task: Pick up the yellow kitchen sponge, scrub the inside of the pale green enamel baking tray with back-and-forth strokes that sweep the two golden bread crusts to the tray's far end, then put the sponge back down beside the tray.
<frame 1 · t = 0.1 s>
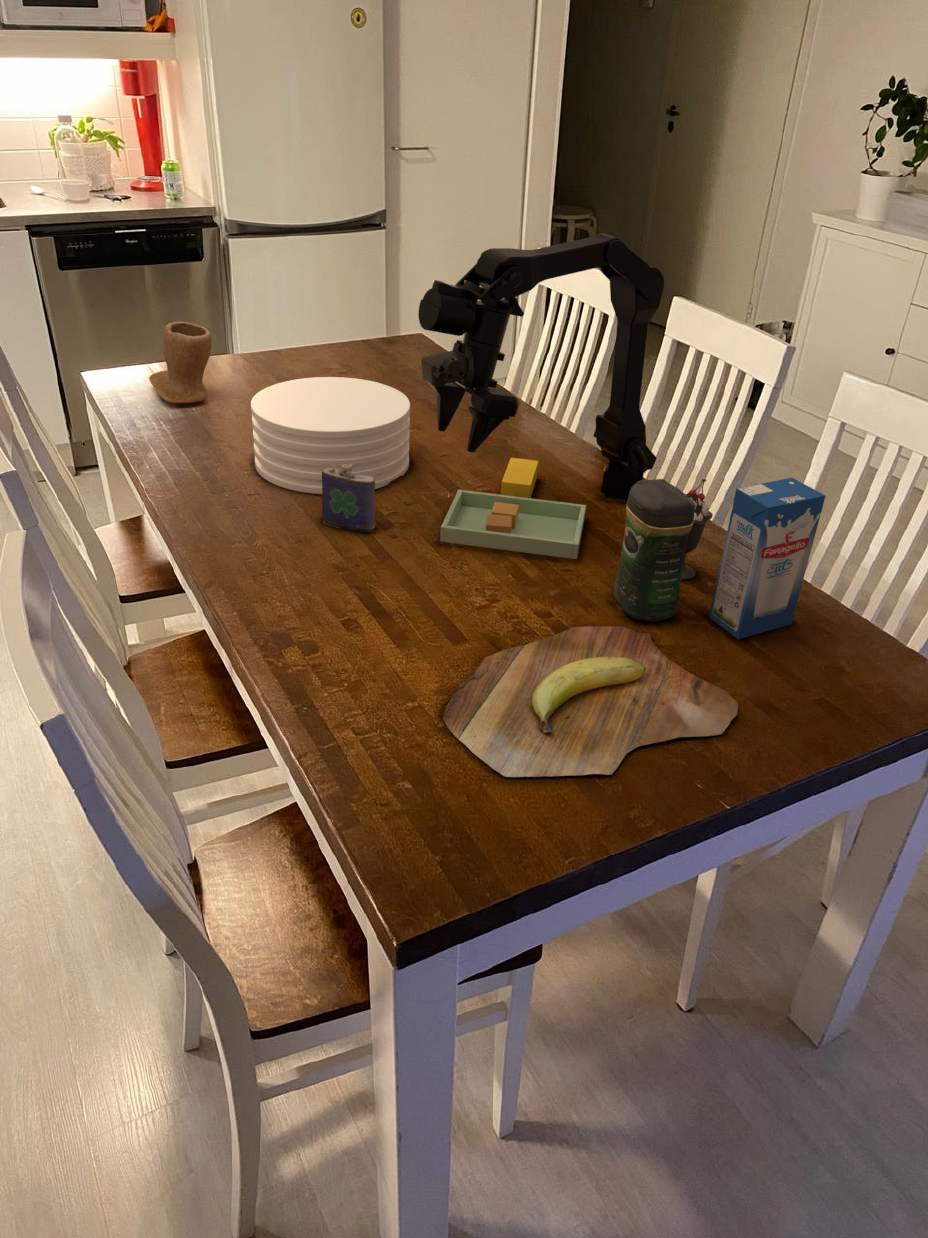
hand: (455, 441, 150), 15 cm above the table, tool pointing down, fingers open, 9 cm apart
crust a: (504, 522, 160), point 1 cm above the table, touching tray
milk carton: (749, 622, 138), on the table
plate stack: (332, 463, 179), on the table
crust b: (498, 534, 156), point 1 cm above the table, touching tray
brown boot: (185, 396, 205), on the table
tray: (514, 532, 158), on the table
flask: (348, 526, 158), on the table
coffee jar: (643, 607, 140), on the table
sponge: (518, 491, 172), on the table
cutting board: (581, 702, 120), on the table
sundae: (678, 572, 150), on the table
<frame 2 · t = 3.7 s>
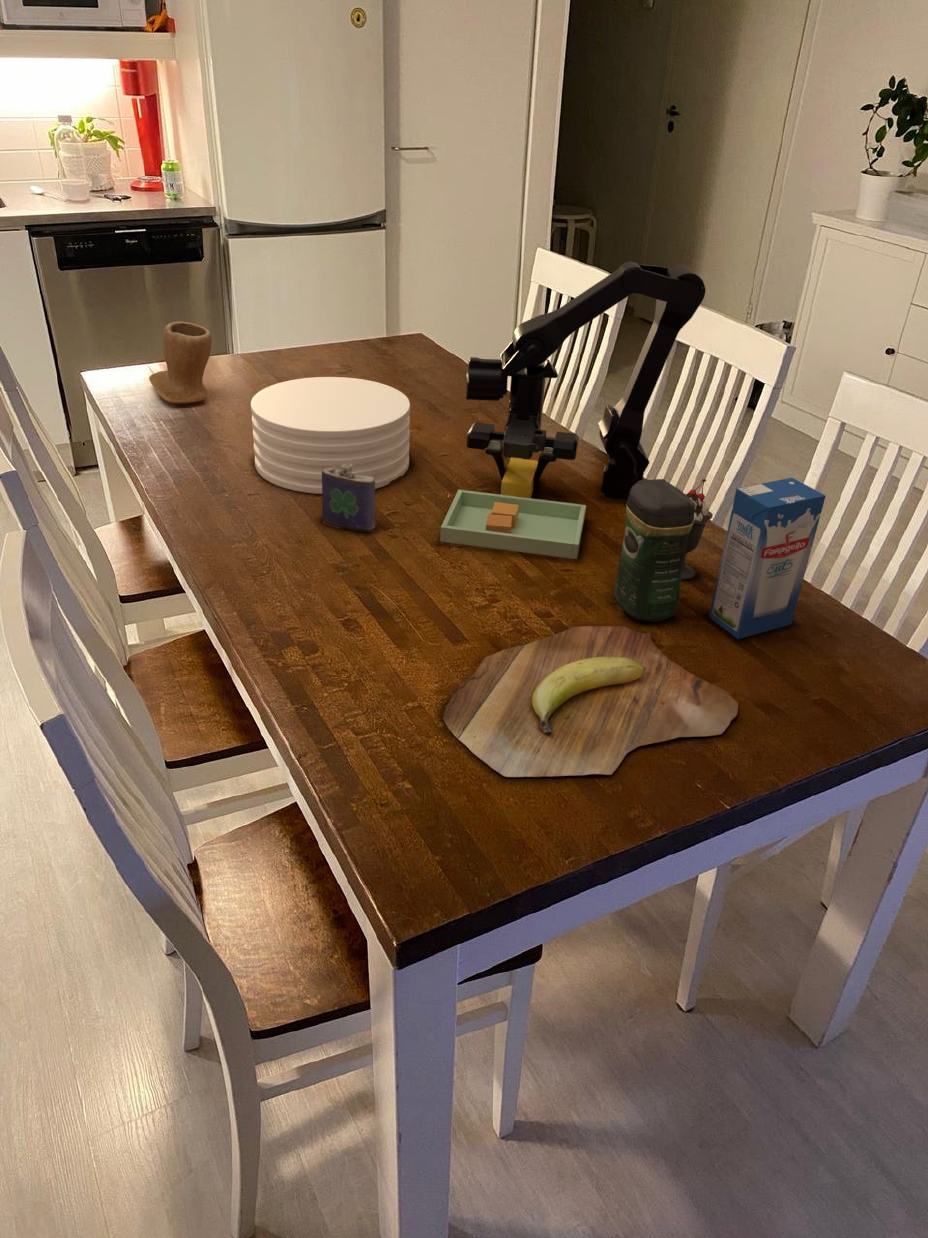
hand: (519, 486, 171), 1 cm above the table, tool pointing down, fingers closed on sponge, 5 cm apart
sponge: (518, 491, 172), on the table, touching gripper
everything else where it was.
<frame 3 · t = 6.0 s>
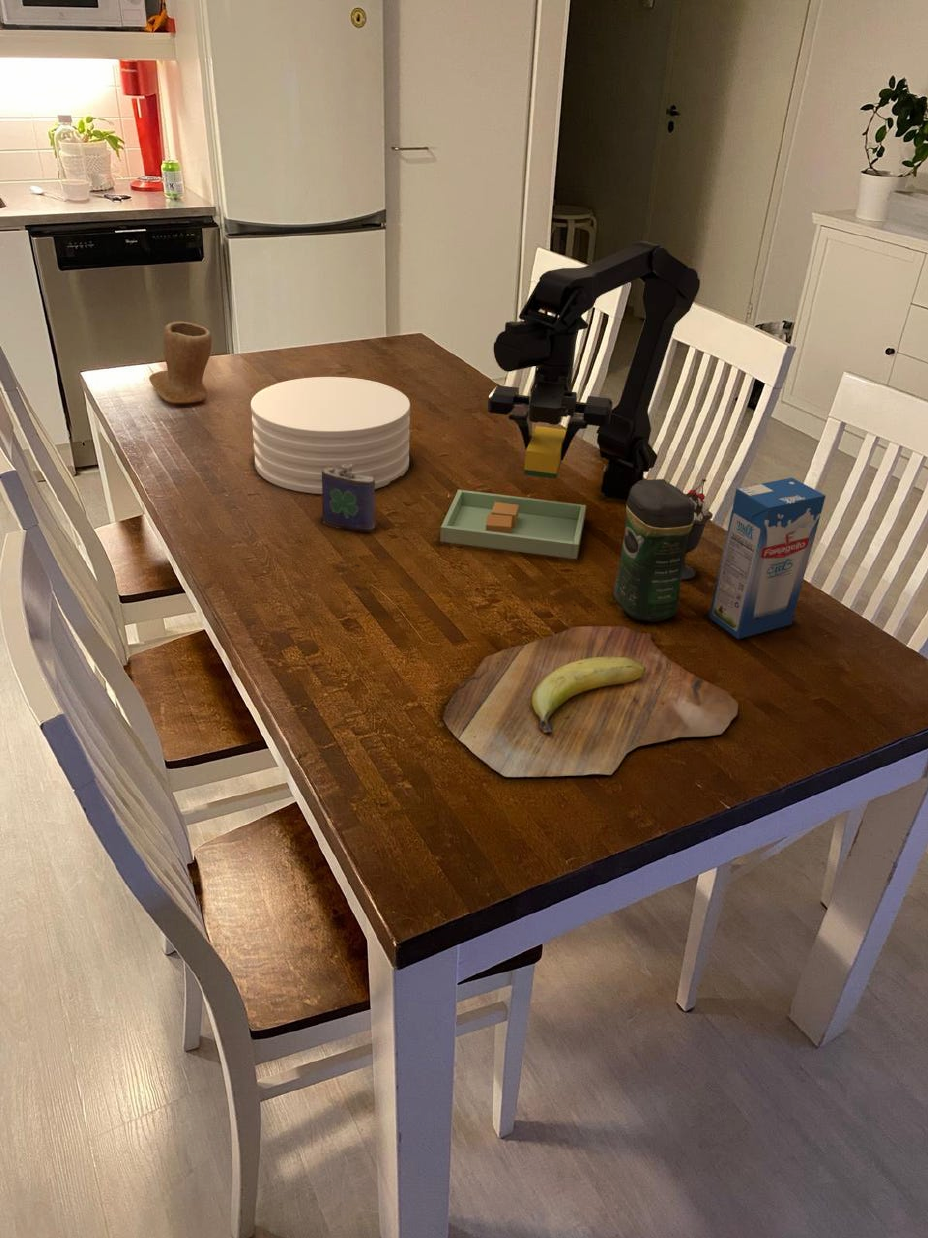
hand: (545, 457, 155), 12 cm above the table, tool pointing down, fingers closed on sponge, 5 cm apart
sponge: (544, 463, 155), point 11 cm above the table, touching gripper
everything else where it was.
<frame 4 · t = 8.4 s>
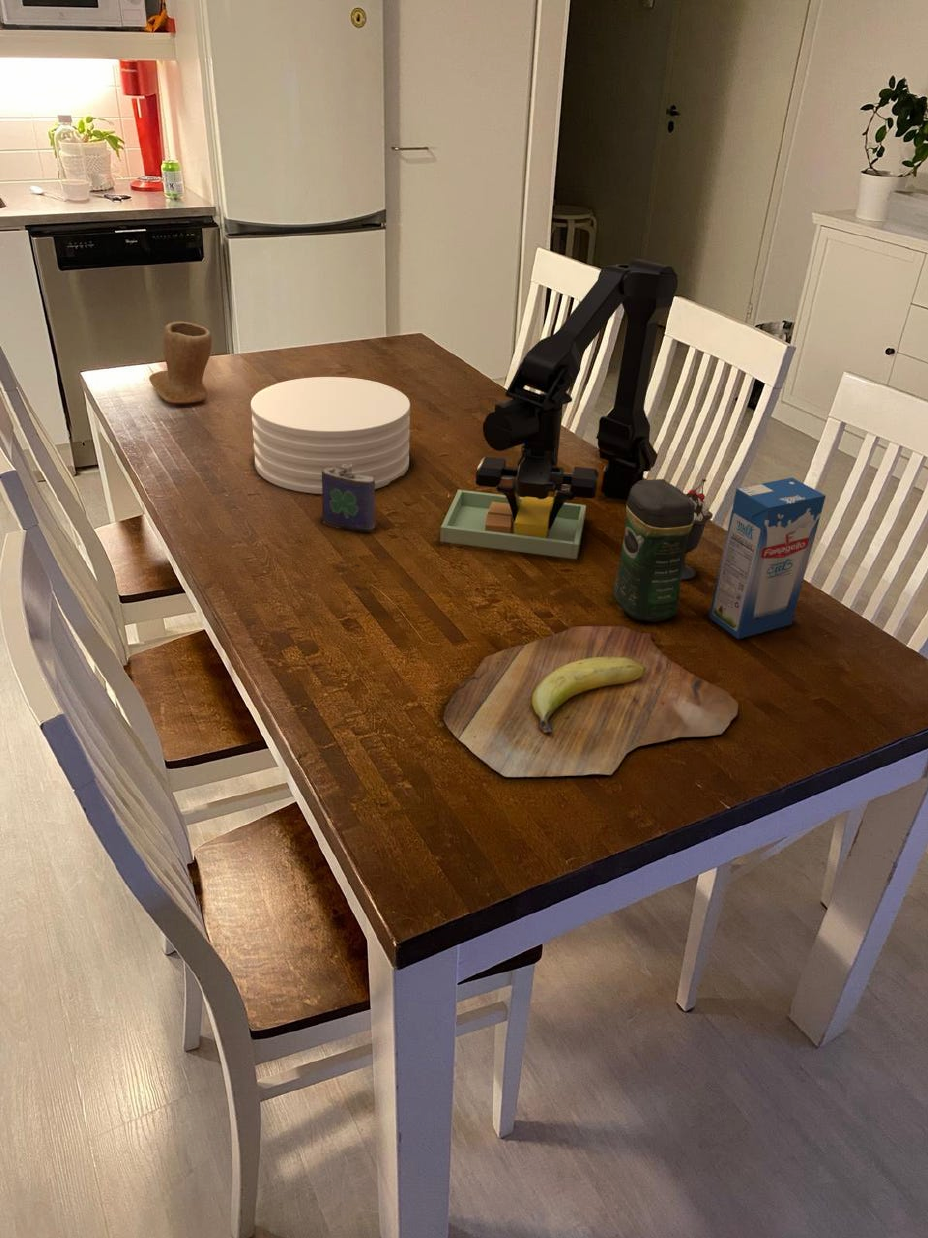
hand: (533, 526, 157), 2 cm above the table, tool pointing down, fingers closed on sponge, 5 cm apart
crust a: (501, 521, 160), point 1 cm above the table, touching gripper, tray
crust b: (497, 534, 156), point 1 cm above the table, touching gripper, tray
sponge: (532, 531, 157), point 1 cm above the table, touching gripper, tray
everything else where it was.
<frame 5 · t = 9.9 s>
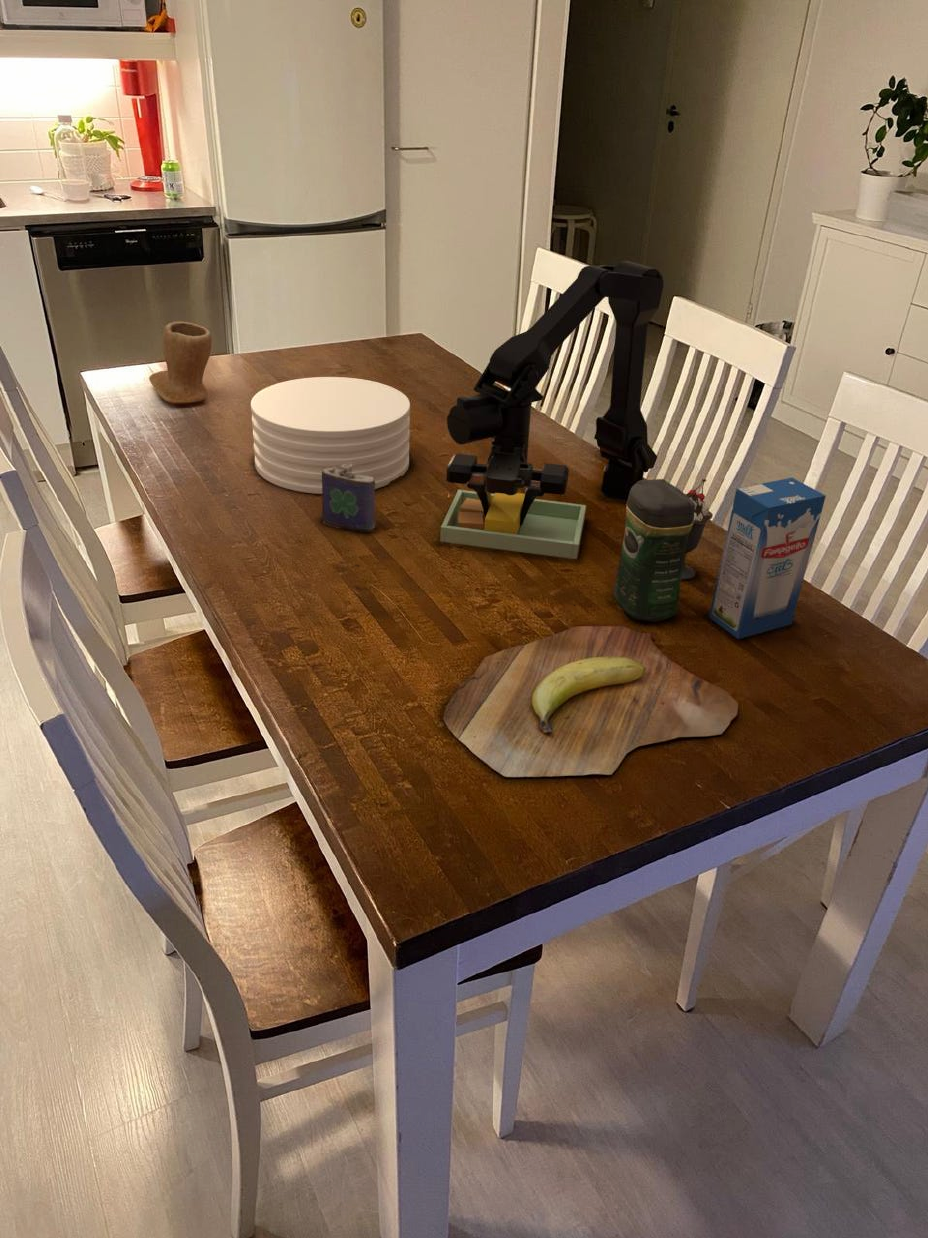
hand: (504, 522, 158), 2 cm above the table, tool pointing down, fingers closed on sponge, 5 cm apart
crust a: (474, 518, 161), point 1 cm above the table, touching gripper, tray
crust b: (470, 531, 157), point 1 cm above the table, touching gripper, tray
sponge: (504, 528, 158), point 1 cm above the table, touching gripper, tray
everything else where it was.
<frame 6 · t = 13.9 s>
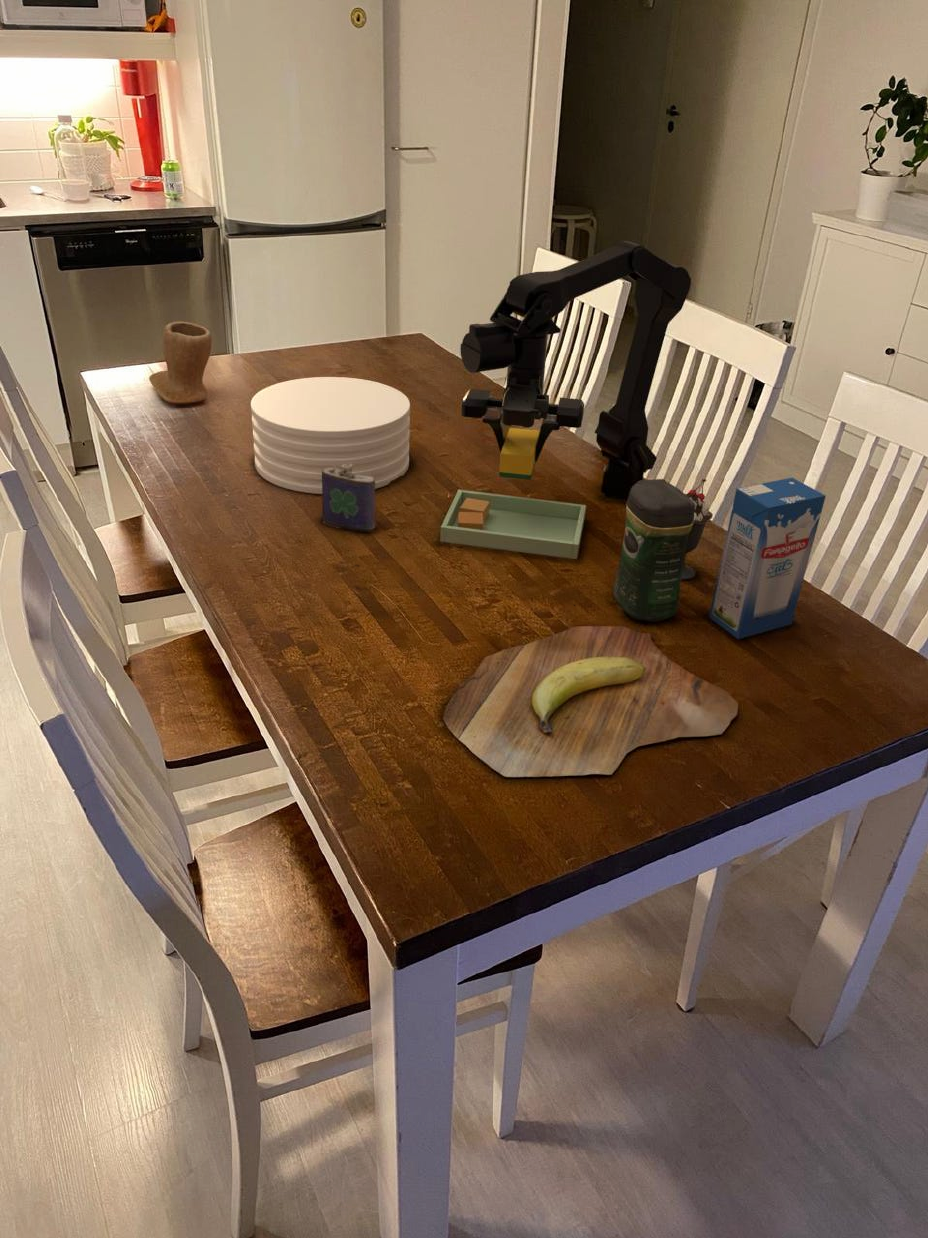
hand: (519, 459, 157), 11 cm above the table, tool pointing down, fingers closed on sponge, 5 cm apart
crust a: (474, 518, 161), point 1 cm above the table, touching tray
crust b: (470, 531, 157), point 1 cm above the table, touching tray
sponge: (519, 464, 157), point 10 cm above the table, touching gripper
everything else where it was.
when the fingers open (1 cm above the table, at t = 17.5 s): sponge stays where it is, on the table.
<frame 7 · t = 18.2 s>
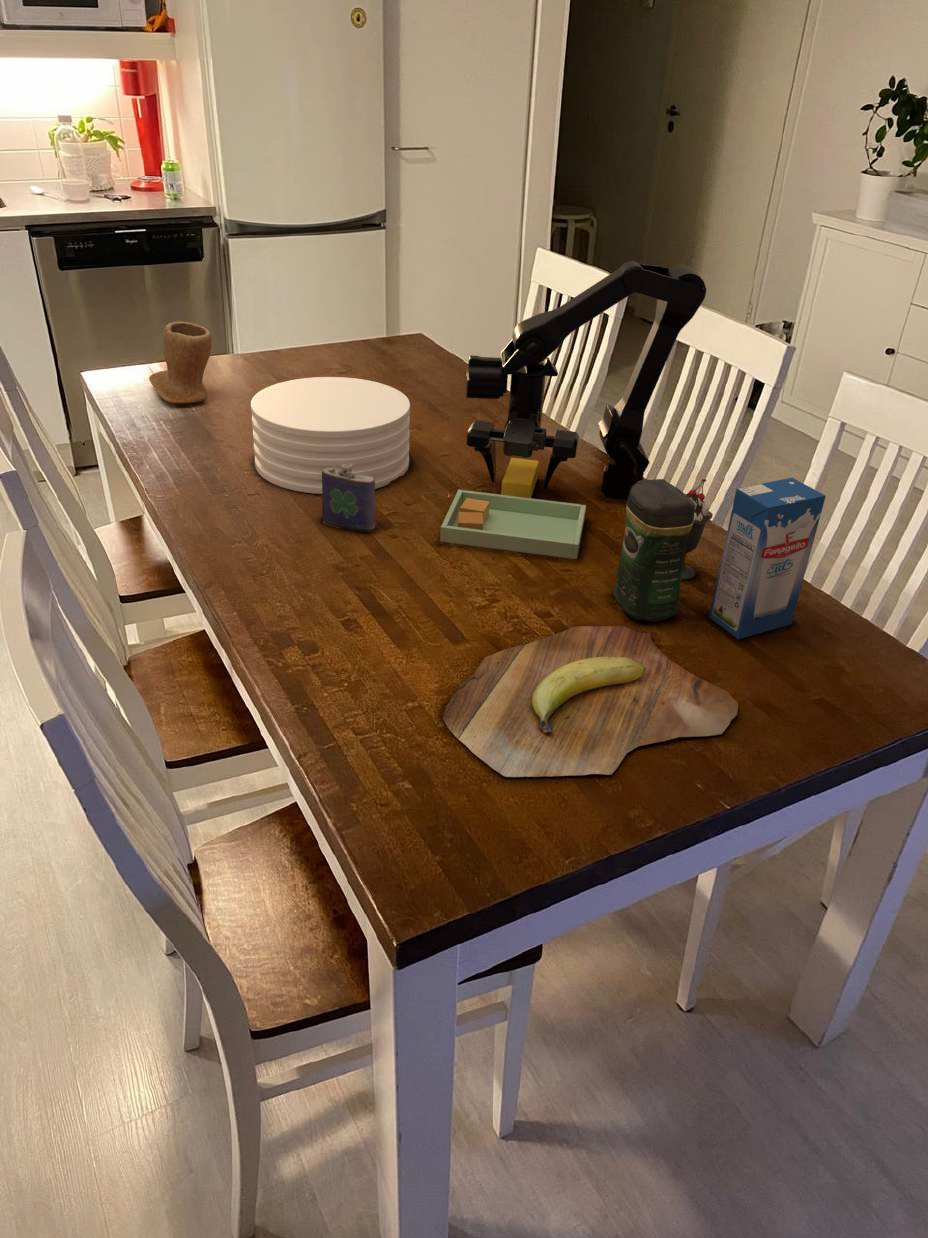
hand: (519, 485, 171), 1 cm above the table, tool pointing down, fingers open, 9 cm apart
sponge: (519, 491, 172), on the table
everything else where it was.
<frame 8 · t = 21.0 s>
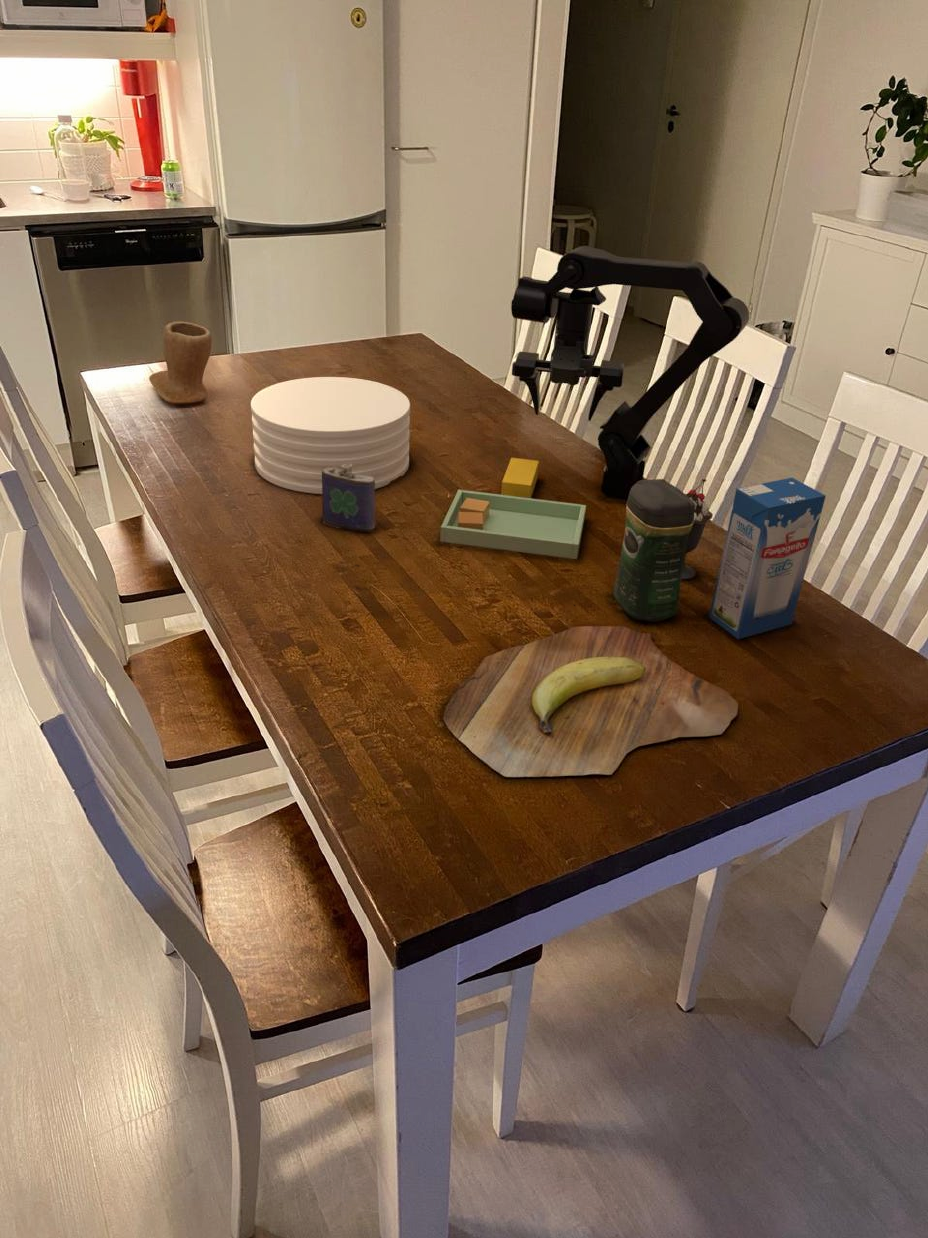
hand: (563, 417, 171), 12 cm above the table, tool pointing down, fingers open, 9 cm apart
nothing on the table moved.
at the end: crust a inside the target area in the tray (2.5 cm from its centre), point 0.6 cm above the tray's base; crust b inside the target area in the tray (2.9 cm from its centre), point 0.6 cm above the tray's base; sponge inside the target area (0.1 cm from its centre), on the table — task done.
